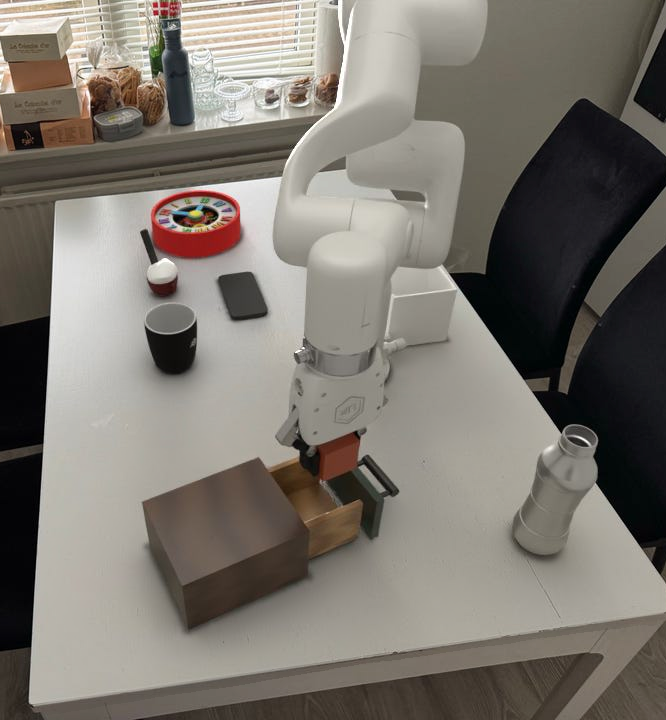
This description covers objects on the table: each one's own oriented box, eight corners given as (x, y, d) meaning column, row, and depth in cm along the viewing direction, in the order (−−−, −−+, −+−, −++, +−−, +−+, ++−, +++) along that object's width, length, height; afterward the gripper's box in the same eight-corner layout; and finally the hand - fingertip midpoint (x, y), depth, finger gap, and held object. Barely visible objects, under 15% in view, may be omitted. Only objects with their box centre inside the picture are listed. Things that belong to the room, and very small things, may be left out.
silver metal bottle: (548, 517, 93) (594, 412, 80) (571, 560, 88) (624, 456, 75) (500, 520, 93) (539, 416, 80) (520, 564, 88) (565, 460, 75)
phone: (252, 270, 142) (269, 311, 131) (252, 273, 143) (269, 315, 131) (216, 275, 142) (231, 317, 130) (217, 279, 142) (231, 321, 131)
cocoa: (183, 300, 137) (178, 248, 130) (152, 305, 137) (145, 253, 129) (173, 274, 145) (168, 224, 137) (144, 280, 144) (137, 229, 136)
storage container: (446, 340, 123) (457, 289, 115) (386, 348, 122) (393, 297, 115) (397, 265, 142) (404, 218, 134) (344, 272, 141) (349, 225, 134)
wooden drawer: (356, 462, 101) (361, 425, 96) (407, 523, 93) (416, 486, 88) (233, 512, 96) (231, 475, 91) (274, 582, 87) (275, 545, 82)
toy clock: (226, 238, 143) (137, 228, 149) (227, 262, 147) (140, 252, 152) (250, 194, 157) (167, 187, 163) (250, 216, 161) (170, 209, 167)
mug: (199, 379, 119) (195, 333, 113) (148, 380, 120) (141, 334, 113) (201, 336, 128) (197, 291, 122) (153, 337, 129) (147, 293, 122)
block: (334, 441, 87) (337, 415, 83) (356, 468, 83) (360, 441, 80) (301, 455, 85) (303, 428, 82) (322, 482, 82) (324, 455, 79)
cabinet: (259, 502, 98) (258, 456, 92) (307, 576, 89) (310, 531, 82) (149, 546, 94) (141, 501, 88) (188, 629, 84) (181, 586, 78)
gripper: (286, 394, 67) (283, 508, 79) (428, 341, 72) (405, 456, 84) (251, 351, 73) (252, 463, 85) (385, 304, 77) (369, 417, 89)
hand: (328, 459), depth 84 cm, fingers closed on block, 4 cm apart
